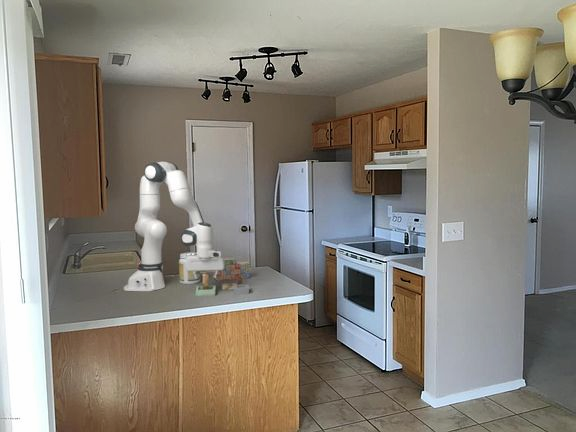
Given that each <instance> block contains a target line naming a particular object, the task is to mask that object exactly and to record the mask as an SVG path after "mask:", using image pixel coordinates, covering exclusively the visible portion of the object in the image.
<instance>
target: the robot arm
mask: <svg viewBox="0 0 576 432" xmlns="http://www.w3.org/2000/svg"><path fill="white" fill-rule="evenodd" d="M162 184H166V186H167V187H168V188H167V189H168V193H169V195H170V196H169V198H170V200H171V201H172V203H173V205H175V206H176V207H178V208H180V209H183V210H184V211H186V212H187V213H188V215H189V217H190V220H191V223H192V225H193V226H192V227H188V228H186V229H183V230H182V232H181V233H180V241H181V244H183V245H184V246H185V247H194V246H196V252H188V253H189V254H187V255H186V257H185V258H186V261H187V264H186V270H187V271H193V274H194V275H195V279H198V275H196V271H200V272H201V271H202V272H203V271H214V270H215V272H216V273H215V275H214V274H213V275H212V278H213V279H214V278H216V274H217V273H218V270H223V269H224V260H223V258H224V257H223V256H222V255H223V253H222V251H221V250H218V249H214V245H213V243H214V231H213V227H212V226H213V225H211V224H210V223H208V222H205V221H204V218H203V215H202V212H201V210H200V208H199V205H198V203H197V201H196V199H194V196H193V194H192V192H191V189H190V183H189V182H188V178H187V177H186V174H185V173H184V171H182V170H180V169H179V167H178V166H177V165H176V164H175V163H173V162H169V161H157V162H155V161H154V162H149V163H148V164H146V166H145V167H144V169H143V175H142V176H141V178H140V182H139V210H138V211H139V212H138V216H137V220H136V222H135V224H134V231H135V232H136V234H138V235H139V236H140V237H142V238H144V239H143V245H142V248H141V249H140V255H141V256H140V258H141V259H140V260H141V262H139V263H138V264H137V269H138V270H136V271H135V272H134V273H133V274H131V275H130V276H129V278H128V280H127V284H126V285H125V286H124V287H123V291H126V292H152V291H156V290H161V289H164V288H165V287H166V284H165V280H164V274H163V272H164V265H163V264H164V263H163V260H162V259H163V258H162V253H163V252H162V247H163V242H164V237H166V234H167V232H168V229H167V225H166V224H165V223H164V222H162V221H161V220H159V219H157V218H158V214H159V211H160V209H161V185H162ZM191 253H192V254H191Z"/></svg>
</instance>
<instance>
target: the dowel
mask: <svg viewBox="0 0 576 432" xmlns="http://www.w3.org/2000/svg"><path fill="white" fill-rule="evenodd" d="M209 278H210V276H209V273H207V272H206V273H202V286H203V290H209V285H210V279H209Z"/></svg>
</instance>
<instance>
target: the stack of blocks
mask: <svg viewBox="0 0 576 432" xmlns="http://www.w3.org/2000/svg"><path fill="white" fill-rule="evenodd" d="M223 260H224V269H223V270H218V273H217V274H216V278H215V279H216V280H217V281H224V280H223V279H230V280H237V277H242V279H250V278H251V263H250V262H249V261H236V258H234V257H223ZM215 273H216V272H215V270H213V275H215ZM215 279H214V280H215ZM216 280H215V281H216Z"/></svg>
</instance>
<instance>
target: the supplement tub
mask: <svg viewBox="0 0 576 432" xmlns="http://www.w3.org/2000/svg"><path fill="white" fill-rule="evenodd" d="M189 253H191V254H192V253H193V252H183V253H180V254H179V258H180V259H179V260H178V273H179V275H178V276H179V283H180V284H181V285H194V284H198V283H199V282H201V271H196V275H198V279H195V275H194V274H193V271H187V270H186V264H187V261H186V258H185V257H186V255H187V254H189Z"/></svg>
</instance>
